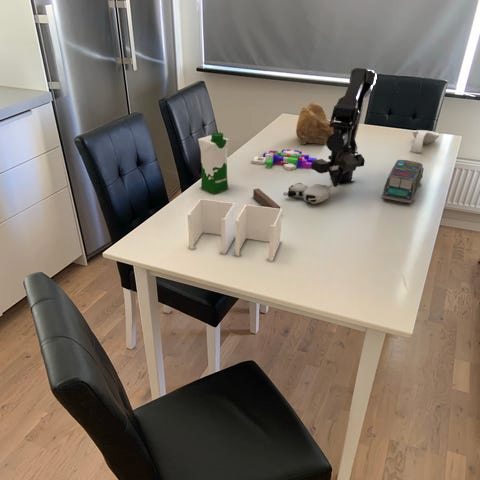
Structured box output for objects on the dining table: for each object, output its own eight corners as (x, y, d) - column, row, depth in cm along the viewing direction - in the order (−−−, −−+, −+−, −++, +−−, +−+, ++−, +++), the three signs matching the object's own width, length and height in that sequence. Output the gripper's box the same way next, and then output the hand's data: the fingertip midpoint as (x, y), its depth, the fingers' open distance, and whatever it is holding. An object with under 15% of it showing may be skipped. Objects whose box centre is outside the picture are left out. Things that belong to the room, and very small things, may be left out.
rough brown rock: (325, 153, 208) (333, 117, 198) (289, 145, 211) (295, 109, 202) (336, 139, 225) (344, 105, 216) (302, 131, 229) (308, 98, 219)
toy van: (421, 182, 182) (428, 156, 176) (410, 207, 165) (417, 179, 158) (393, 177, 186) (398, 151, 179) (379, 201, 168) (385, 174, 162)
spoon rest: (413, 135, 226) (417, 120, 221) (439, 139, 221) (443, 123, 217) (402, 151, 209) (406, 134, 205) (430, 155, 205) (434, 138, 200)
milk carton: (213, 195, 170) (212, 138, 158) (197, 188, 175) (194, 132, 163) (231, 189, 175) (231, 133, 163) (215, 181, 180) (213, 127, 168)
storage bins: (279, 242, 145) (282, 209, 138) (272, 260, 136) (274, 226, 130) (201, 231, 150) (200, 198, 143) (189, 248, 141) (187, 214, 135)
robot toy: (280, 202, 169) (320, 209, 162) (280, 190, 166) (321, 196, 159) (296, 190, 177) (334, 196, 170) (296, 178, 174) (335, 184, 168)
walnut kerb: (258, 197, 170) (258, 188, 168) (279, 216, 159) (280, 206, 157) (252, 198, 169) (253, 189, 167) (274, 217, 158) (274, 207, 156)
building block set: (319, 155, 204) (320, 144, 201) (311, 173, 188) (312, 161, 185) (262, 149, 209) (262, 138, 206) (249, 165, 194) (250, 154, 191)
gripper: (331, 154, 153) (325, 199, 163) (378, 146, 159) (369, 190, 169) (312, 143, 161) (308, 187, 171) (358, 136, 167) (351, 179, 177)
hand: (334, 186), depth 172 cm, fingers closed
